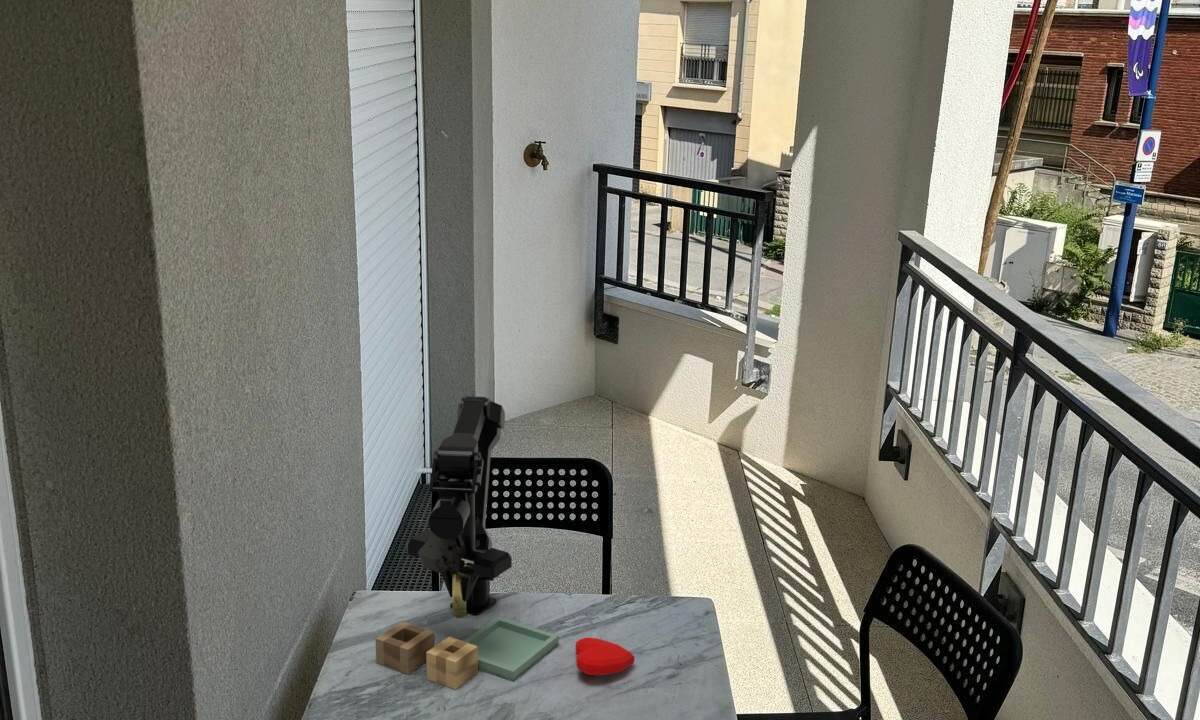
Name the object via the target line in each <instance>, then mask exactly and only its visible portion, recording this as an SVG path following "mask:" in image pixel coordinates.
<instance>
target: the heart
mask: <svg viewBox="0 0 1200 720" xmlns="http://www.w3.org/2000/svg"><path fill="white" fill-rule="evenodd" d="M574 646H575V647H574V649H575V655H576V668H577V669H578V670H579V671H580V672H582V673H584V674H586V675H588V676H589V675H590V676H604V675H612V674H617V673H618V674H619V673H620V672H622V671H624V670H625V669H627V668H629V667H630V666H632V665H633V664H634V663H635V656H634V654H633V653H632V652H631V651H629V650H627V649H625V648H624V647H622V646H621V645H620V644H617V643H614V642H612V641H611V642H610V641H607V640H604V639H602V638H596V637H588V636H587V637H582V638H581V639H579V640H577V641H575V645H574Z"/></svg>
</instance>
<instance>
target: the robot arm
mask: <svg viewBox="0 0 1200 720" xmlns="http://www.w3.org/2000/svg"><path fill="white" fill-rule="evenodd" d="M505 424H506V412H505V409H504V407H503V405H501V404H499V403H496V402H494V401H492V400H490V398H489V397H486V396H469V395H466V396H465V397H464V396H462V397H461V401H460V402H459V403H458V407H457V417H456V423H455V425H454V427H453V428H454V429H453V432H452V433H451V435H450V436H448V437H446V438H443V439H442V440H441V441H440V444H439V446H438V448H437V450H435V451H434V453H433V458H432V466H431V476H430V482H429V483H430V485H429V492H432V493H433V492H435V493H438V499H437V502H436V503H435V506H434V508H433V509H432V510H431V513H430V515H429V518H428V526H429V529H430V530H428V529H425V530H424V531H421V532H420V533H418V534H416V535H414V536H412V537H411V538H409V539H408V541H407V543H406V553H407V555H408V556H412V557H415V558H418V559H419V561H420V563H421V566H422V568H423V569H425V570H430V571H434V572H435V573H438V574H440V576H441V577H442V579H443V582H444V584H445V587H446V589H447V591H448V594H449V597H450V598H452V572H453V571H454V570H458V571H457V572H458V573H459V574H460V575H461V576H462V597H463V601H466V613H469V614H471V615H474V616H477V615H480V614H481V613H483V612H484V611H486V610H487V609H489V608H490V607H491V606H493V605H494V604H496V603H497V599H496V598H494V597H491V582H493V581H494V579H496V578H498V577H499V576H500V575H501V574H503V573H504V572H507V571H508V570H509V569H511V568H512V561H513V560H512V556H511V554H510V553H509V552H508V551H505V550H502V549H497V548H494V547H493V540H492V538H491V536H490V535H489V533H488V531H487V528H486V521H487V520H486V519H487V518H486V517H487V508H488V507H487V506H488V505H487V504H488V494H489V483H490V482H489V481H490V480H489V479H490V468H491V458H492V457H491V455H492V451H493V449H494V448H495V446H496V445H497V444H498V442H499V441H500V439H501V434H502V429H505ZM438 479H446V480H438ZM447 479H448V480H447ZM490 581H491V582H490ZM489 593H490V594H489ZM449 605H450V606H449V607H450V608H451V609H453V605H452V602H451V603H450V604H449Z"/></svg>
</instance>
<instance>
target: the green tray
mask: <svg viewBox="0 0 1200 720" xmlns="http://www.w3.org/2000/svg"><path fill="white" fill-rule="evenodd" d="M559 639H560V638H559V635H558V634H554V633H551V632H548V631H545V630H542V629H539V628H536V627H533V626H530V625H526V624H523V623H520V622H517V621H513V620H511V619H507V618H504V617H501V616H497V617H495V618H494V619H492V620H491V621H490V622H488V623H486V624H485V625H484V626H483V627H481V628H480V629H478V630H477V631H476V632H474V633H472V635H470V636H469V637H467V638H466V639H464V640H462V641H463V642H466V643H469V644H472V645H475V646H478V671H479V670H480V671H482V672H485V673H488V674H491V675H494V676H497V677H501V678H502V679H506V680H509V681H511V682H514V681H516V680H517V679H518V678H519V677H521V676H522V675H523V674H524V673H526V672H527V671H528V670H530V669H531V668H532V667H533V666H534V665H536V664H537V663H539V661H540V660H542V659H543V658H544V657H545V656H547V655H548V654H549V653H550V652H551V651H553V650H555V648H557V647H558V646H559V645H560V644H559Z"/></svg>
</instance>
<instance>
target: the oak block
mask: <svg viewBox="0 0 1200 720" xmlns="http://www.w3.org/2000/svg"><path fill="white" fill-rule="evenodd" d="M463 641H464V640H460V639H457V638H454V637H452V636H448V637H446V638H445V639H443V640H441V642H438V644H435V647H433V648H432V649H430V650H429V651H427V652H426V660H427V662H426V680H429V681H431V682H433V683H436V684H439V685H442V686H444V687H448V688H450V689H453V690H458V689H459V688H460V687H461V686H463V685H464V684H466V683H467V682H468V681H470V680H471V679H472V678H473V677H475V676H476V675H477V674H478V673H479V669H478V646H475V645H472V644H469V643H466V642H463Z"/></svg>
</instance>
